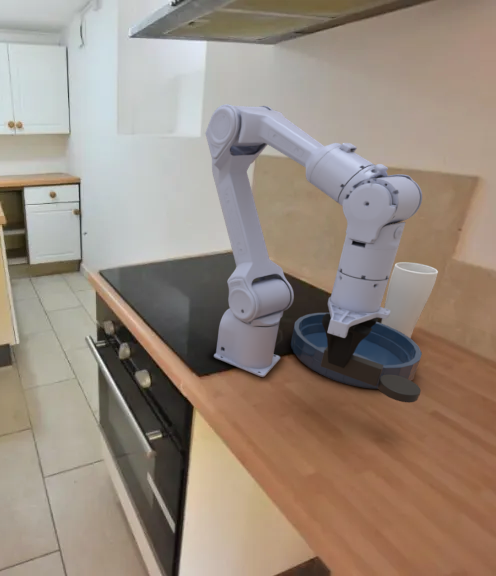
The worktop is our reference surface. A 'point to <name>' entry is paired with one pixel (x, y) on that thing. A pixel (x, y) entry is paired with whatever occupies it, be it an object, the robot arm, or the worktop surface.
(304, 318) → the bowl
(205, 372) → the worktop surface
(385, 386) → the ladle
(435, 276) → the drinking glass
